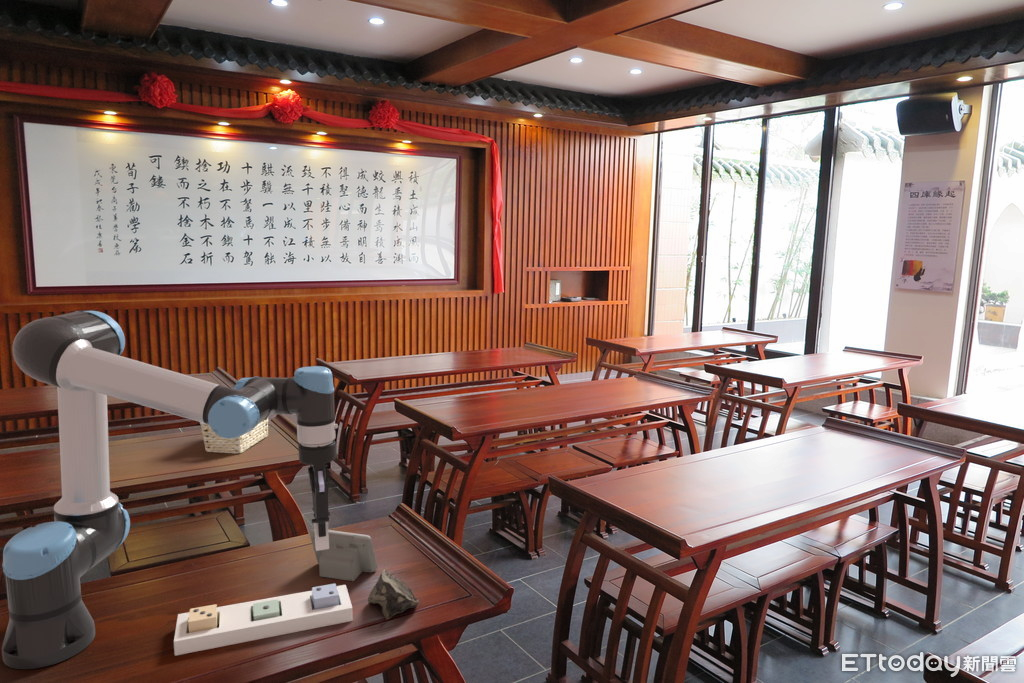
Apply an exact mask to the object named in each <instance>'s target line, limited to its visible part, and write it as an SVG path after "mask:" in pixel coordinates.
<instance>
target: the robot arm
mask: <svg viewBox="0 0 1024 683" xmlns="http://www.w3.org/2000/svg"><path fill="white" fill-rule="evenodd" d="M12 342H13V343H12V356H13V360H14V362H15V364H16V365H17V366H18V368H19V369H20V370H21V371H22V372H23V373H24V374H25V375H27V376H28V377H30V378H32V379H34V380H36V381H38V382H41V383H45V385H50V386H53V387H56V388H57V389H56V390H57V407H58V408H57V414H58V416H57V417H58V433H59V435H58V437H59V454H60V455H59V456H60V475H61V476H60V480H61V483H60V484H61V498H60V499H59V500H58V501H56V502H55V504H54V505H53V519H54V521H48V522H47V521H46V522H42V523H38V524H36V526H33V527H32V526H29V527H27V528H26V529H23V530H22V531H20V532H18V533H16V534H15V535H13V536H12V537H11V538H10V539H9V540H8V541H7V543H5V545H4V548H3V552H2V564H1V565H2V572H3V575H4V583H5V593H6V600H7V607H8V613H9V614H8V616H9V620H8V624H7V628H6V631H5V634H4V639H3V641H2V645H1V656H2V658H1V659H2V661H3V663H4V665H5V666H6V667H8V668H11V669H15V670H35V669H39V668H45V667H49V666H52V665H55V664H58V663H61V662H63V661H66V660H68V659H70V658H72V657H74V656H76V655H77V654H80V653H81V652H82V651H84V650H85V649H86V648H88V646H89V645H91V643H92V642H93V641H94V639H95V636H96V627H95V626H96V625H95V621H94V619H93V617H92V615H91V614H90V611H89V610H88V608H87V606H86V605H85V603H84V601H83V600H82V592H81V591H82V590H81V589H82V588H81V580H80V579H81V577H82V576H83V575H85V574H86V573H87V572H89V571H90V570H91V569H92V568H94V567H95V566H97V565H98V564H99V563H101V562H102V561H103V560H105V559H106V558H107V557H109V556H110V555H112V554H113V553H114V552H115V551H116V550H118V549H119V547H120V546H121V545H122V544H123V543H124V542H125V540H126V539H127V537H128V535H129V532H130V527H131V519H130V515H129V512H128V510H127V509H125V508H123V507H124V505H123V504H121V502H119V496H117V494H115V493H114V492H112V491H111V484H110V483H111V482H110V479H111V478H110V456H109V455H110V453H109V452H110V449H109V422H108V421H109V419H108V396H110V397H113V398H116V399H120V400H123V401H126V402H129V403H133V404H135V405H140V406H144V407H146V408H150V409H155V410H158V411H161V412H164V413H166V414H167V413H169V414H170V415H175V416H179V417H182V418H186V419H189V420H192V421H196V422H199V423H200V422H202V423H206V424H209V425H210V427H211V429H212V430H213V431H214V432H215V433H216V434H217V435H218V436H220V437H222V438H227V439H233V438H237V437H240V436H242V435H244V434H246V433H248V432H250V431H251V430H253V428H255V427H256V426H257V425H258V424H259V423H261V422H262V421H263V420H265V419H266V418H268V419H269V417H270V416H272V415H296V438H297V442H298V443H299V444H298V445H297V446H298V448H297V449H298V460H299V462H300V463H302V464H304V465H307V466H308V465H309V467H307V474H308V476H309V485H310V489H311V496H312V497H311V498H312V511H313V517H314V518H312V519H311V524H313V526H314V530H315V548H316V551H319V550H325V549H329V533H328V530H329V522H330V515H331V512H330V511H329V489H330V488H329V487H330V486H329V478H330V469H329V467H328V463H331V462H333V461H335V460H336V458H337V456H338V455H337V442H336V441H335V439H336V429H338V428H339V425H338V423H336V421H335V420H336V416H335V387H334V379H333V372H332V371H331V369H330V368H329V367H326V366H320V365H313V366H302V367H300V368H297V369H296V370H295V371H294V374H293V375H294V376H292V377H264V376H263V377H262V376H253V377H241V378H239V379H238V380H237V381H236V382H235V383H236V384H235V385H234V387H233V388H232V387H228V386H224V385H221V384H218V383H215V382H211V381H208V380H204V379H201V378H199V377H198V378H197V377H194V376H192V375H187V374H184V373H180V372H177V371H173V370H170V369H167V368H163V367H160V366H156V365H154V364H150V363H146V362H143V361H140V360H136V359H133V358H129V357H126V356H122V354H123V352H124V349H125V346H126V338H125V334H124V330H122V327H121V326H120V324H119V323H118V322H117V321H116V320H115V319H114V318H112V317H111V316H110V315H108V314H106V313H104V312H101V311H99V310H98V311H97V310H78V311H77V310H76V311H72V312H69V313H63V314H57V315H54V316H48V317H43V318H38V319H34V320H33V321H31V322H29V323H27V324H25V325H23V327H22V328H20V329H19V330H18V332H17V334H16V335H15V337H14V340H13V341H12Z"/></svg>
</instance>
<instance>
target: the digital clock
mask: <svg viewBox="0 0 1024 683" xmlns="http://www.w3.org/2000/svg"><path fill="white" fill-rule="evenodd" d="M328 533H329V549H325V550H319V551H316V548H315V530H314V529H311V531H310V533H309V536H310V540H311V544H312V547H313V550H314V554H315V557H316V561H317V563H318V566H319V577H321V578H328V579H335V580H343V581H349V582H354V581H355V580H356V579H357V578H359V576H360V575H361V574H362V573H364V572H365V573H373V572H376V571H377V570H378V568H379V565H378V562H377V557H376V553H375V552H376V551H375V548H374V544H373V539H372V537H371V536H370V535H368V534H363V533H362V534H361V533H357V532H356V533H354V532H348V531H340V530H339V531H338V530H332V529H328Z"/></svg>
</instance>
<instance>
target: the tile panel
mask: <svg viewBox="0 0 1024 683" xmlns="http://www.w3.org/2000/svg"><path fill="white" fill-rule="evenodd" d="M336 587H337V591H338V594H339V605H337V606H332V607H326V608H321V609H316V610H314V608H313V602H312V590H307V591H302V592H301V591H300V592H296V593H295V592H294V593H291V594H285V595H279V596H273V597H268V598H263V599H256V600H252V601H245V602H239V603H233V604H228V605H227V604H226V605H223V606H217V617H218V623H217V628H214V629H209V630H203V631H198V632H193V633H189V625H188V621H189V613H190V611H188V612H183V613H177V619H176V626H175V631H174V636H173V638H174V639H173V650H174V652H173V653H174V656H181V655H186V654H189V653H196V652H199V651H200V652H201V651H205V650H211V649H215V648H221V647H226V646H231V645H236V644H242V643H246V642H252V641H257V640H262V639H268V638H272V637H278V636H282V635H287V634H292V633H297V632H302V631H307V630H312V629H313V630H314V629H318V628H323V627H327V626H332V625H338V624H343V623H349V622H354V621H353V619H354V617H353V616H354V612H353V605H352V601H351V598H350V594H349V592H348V591H349V590H348V588H347V585H346V584H342V585H341V584H340V585H336ZM277 599H278V602H279V612H280V616H278V617H273V618H267V619H262V620H257V621H254V612H253V604H254V603H260V602H265V601H271V600H277Z"/></svg>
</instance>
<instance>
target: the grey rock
mask: <svg viewBox="0 0 1024 683" xmlns="http://www.w3.org/2000/svg"><path fill="white" fill-rule="evenodd" d="M367 602H368V604H369V605H373V604H379V605H380V606H381V607H382V609H381V610H382V611H381V613H382V615H383V616H384V619H386V620H389V619H391V618H393V617H394V616H396V614H403V613H404V612H405V611H407V610H409V609H411V608H416V606H418V604H419V602H420V601H419V599H418V597H415V594H414V591H413V590H412V589H411V588H409V586H408V585H407V584H406V583H405V582H404V581H403V580H401V579H398V578H396V577H395V576H394V574H392V573H390V572H389V571H388V570H387V569H382V570H381V573H380V575H379V578H378V580H377V582H376V583H375V585H374V587H373V588H372V590H371V591H370V593H369V595H368V597H367Z"/></svg>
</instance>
